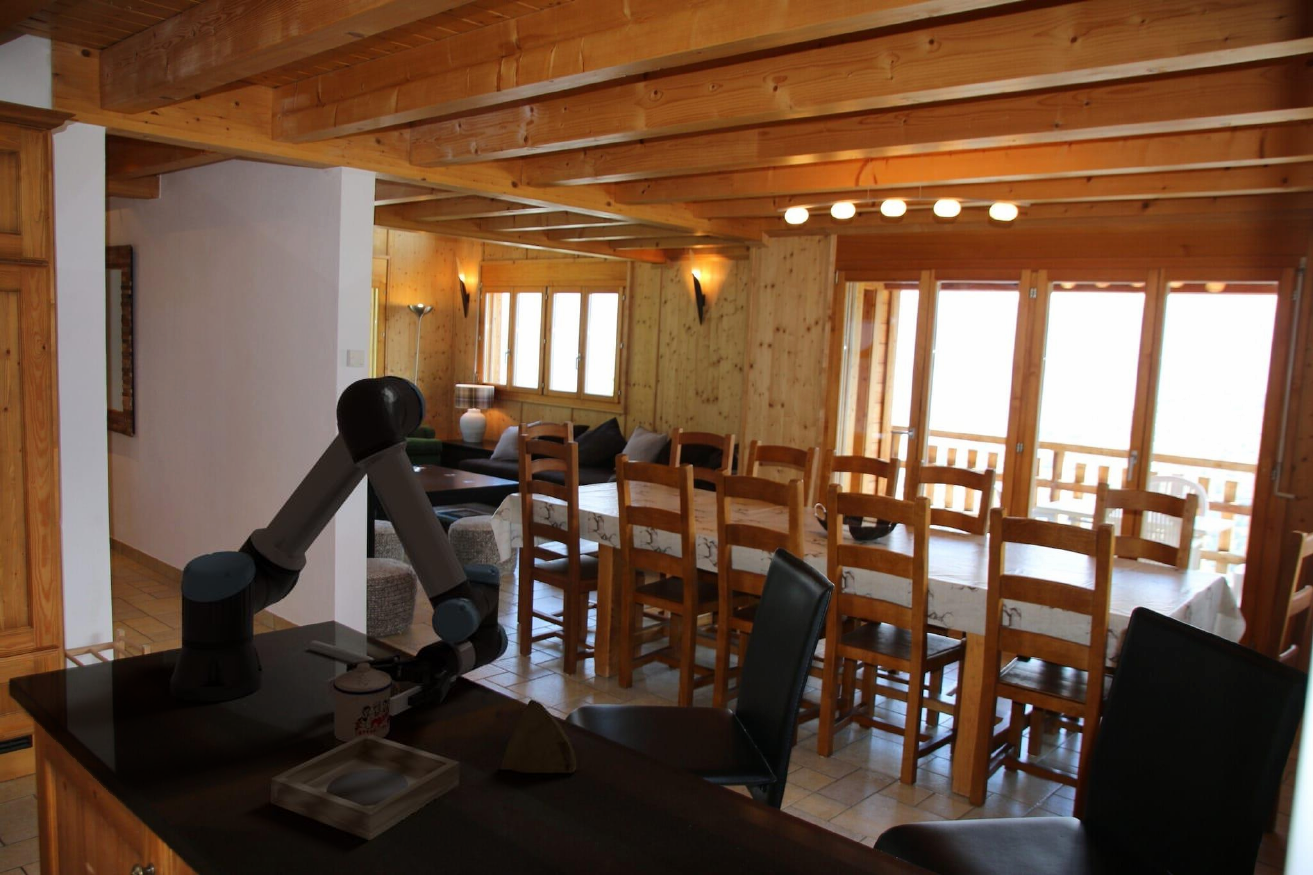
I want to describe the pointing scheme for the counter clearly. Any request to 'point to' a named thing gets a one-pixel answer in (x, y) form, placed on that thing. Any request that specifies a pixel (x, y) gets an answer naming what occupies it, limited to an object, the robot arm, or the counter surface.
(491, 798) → the counter surface
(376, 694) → the teacup with lid
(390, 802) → the housing tray
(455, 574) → the robot arm
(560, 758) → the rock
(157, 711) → the counter surface
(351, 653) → the marker
